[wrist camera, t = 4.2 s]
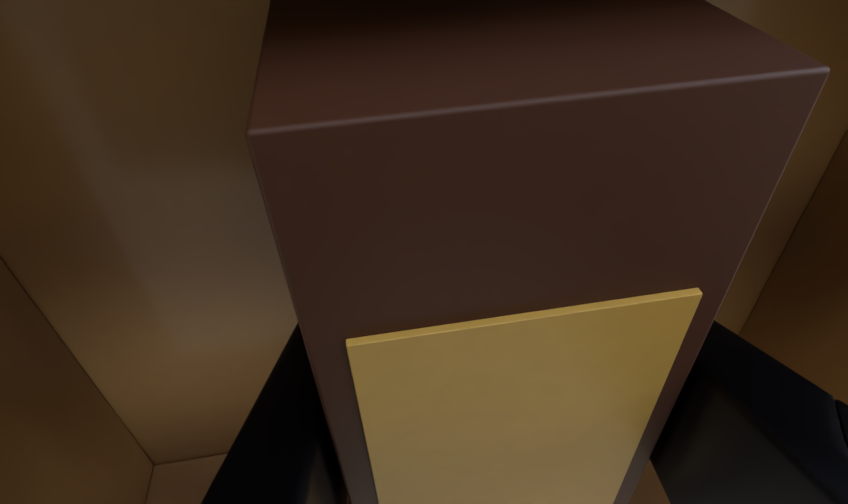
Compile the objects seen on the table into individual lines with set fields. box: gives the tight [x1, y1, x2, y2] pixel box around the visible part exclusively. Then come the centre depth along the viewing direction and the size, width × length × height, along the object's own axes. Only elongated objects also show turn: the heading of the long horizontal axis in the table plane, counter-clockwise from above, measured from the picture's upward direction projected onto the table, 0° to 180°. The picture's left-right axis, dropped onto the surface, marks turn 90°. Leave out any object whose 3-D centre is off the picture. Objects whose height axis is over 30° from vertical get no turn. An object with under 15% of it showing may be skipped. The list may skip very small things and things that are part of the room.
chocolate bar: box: [245, 0, 830, 504], centre depth 8 cm, size 10×4×3 cm, turn 2°
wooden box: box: [0, 0, 848, 504], centre depth 9 cm, size 13×16×4 cm
